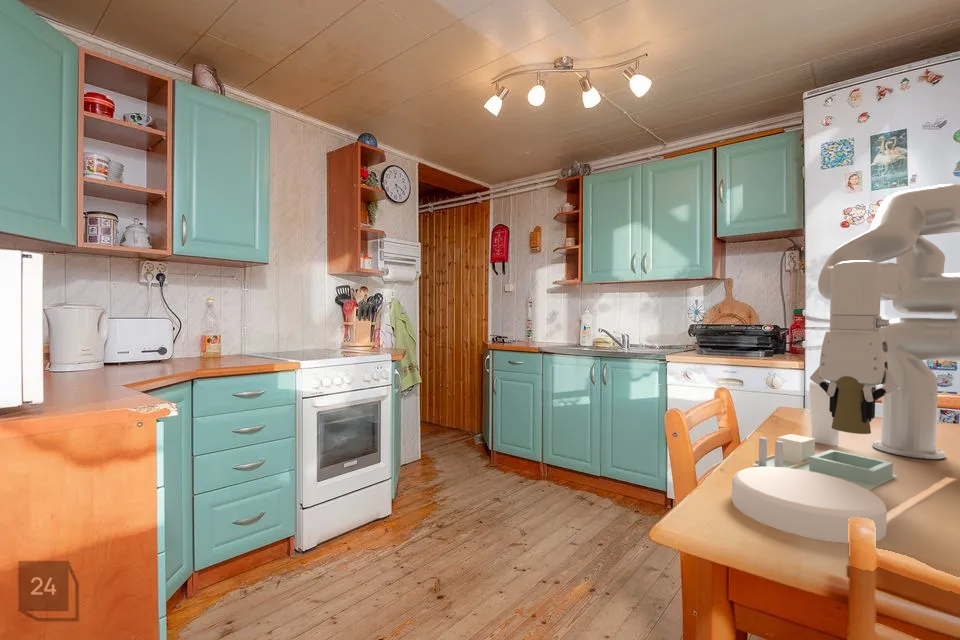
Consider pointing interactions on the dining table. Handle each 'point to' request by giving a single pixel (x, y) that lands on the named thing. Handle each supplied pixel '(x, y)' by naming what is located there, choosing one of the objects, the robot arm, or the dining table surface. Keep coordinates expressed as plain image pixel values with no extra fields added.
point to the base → (832, 465)
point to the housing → (797, 448)
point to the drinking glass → (821, 416)
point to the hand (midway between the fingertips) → (851, 418)
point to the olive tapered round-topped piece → (850, 407)
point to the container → (805, 502)
